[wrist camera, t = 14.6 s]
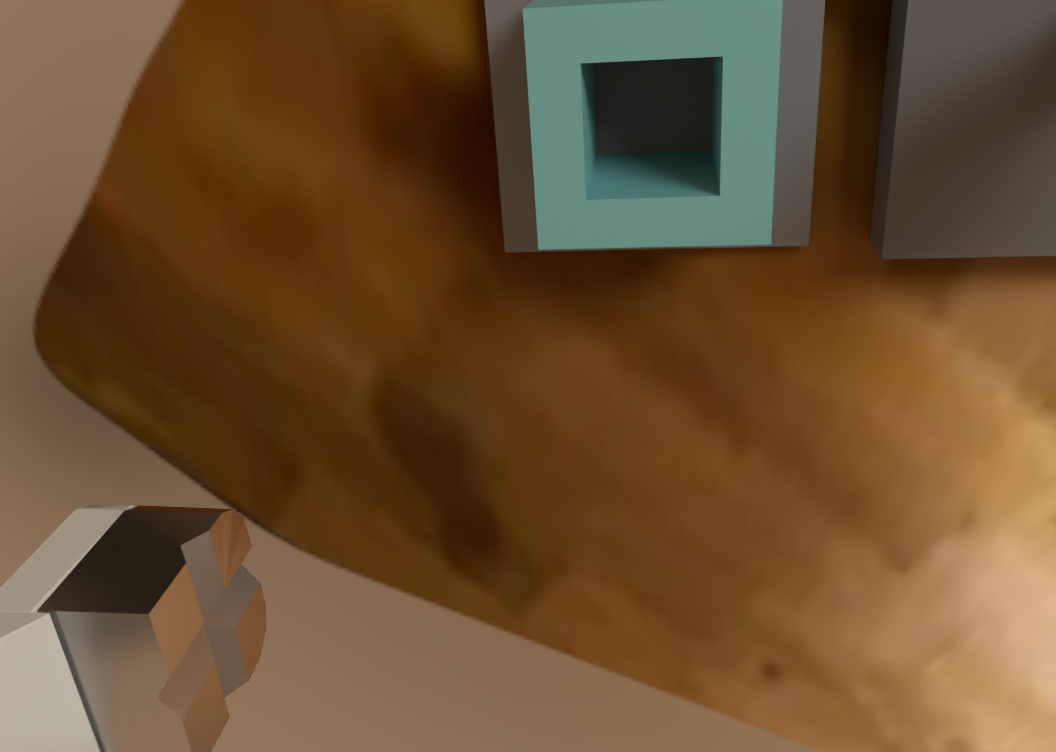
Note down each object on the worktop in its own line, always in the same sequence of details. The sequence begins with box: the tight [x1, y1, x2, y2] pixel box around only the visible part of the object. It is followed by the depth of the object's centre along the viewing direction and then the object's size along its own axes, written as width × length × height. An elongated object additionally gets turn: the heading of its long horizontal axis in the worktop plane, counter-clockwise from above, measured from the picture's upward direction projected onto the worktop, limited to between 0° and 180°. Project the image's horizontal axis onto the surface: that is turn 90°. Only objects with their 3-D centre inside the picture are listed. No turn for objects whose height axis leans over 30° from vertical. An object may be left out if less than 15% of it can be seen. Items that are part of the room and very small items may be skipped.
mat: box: [484, 0, 825, 253], centre depth 30 cm, size 10×10×1 cm
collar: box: [523, 0, 783, 250], centre depth 27 cm, size 6×6×5 cm
